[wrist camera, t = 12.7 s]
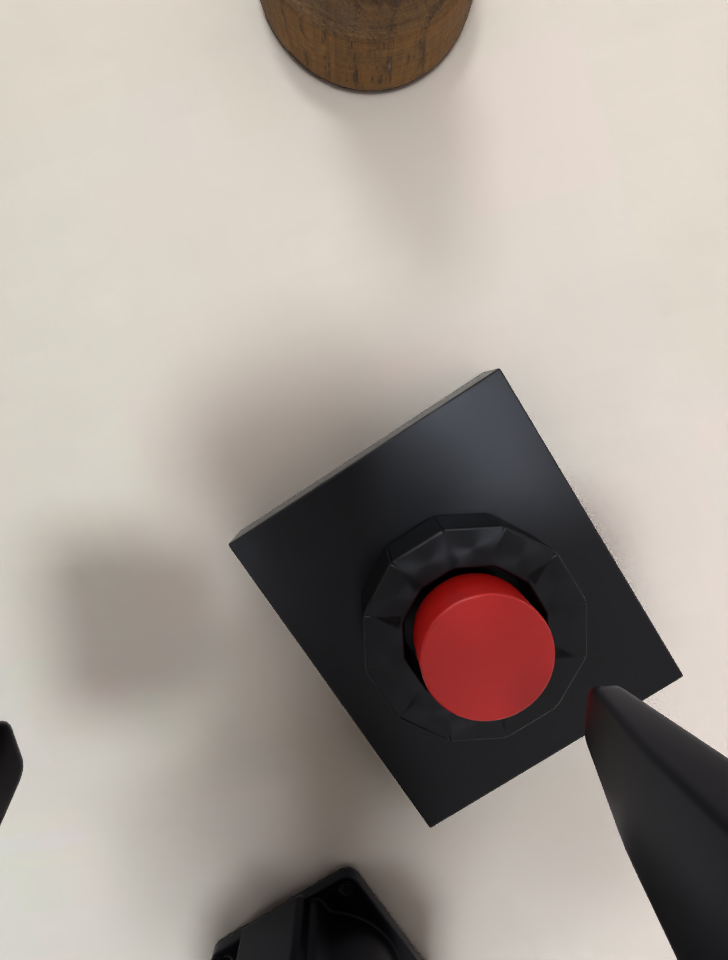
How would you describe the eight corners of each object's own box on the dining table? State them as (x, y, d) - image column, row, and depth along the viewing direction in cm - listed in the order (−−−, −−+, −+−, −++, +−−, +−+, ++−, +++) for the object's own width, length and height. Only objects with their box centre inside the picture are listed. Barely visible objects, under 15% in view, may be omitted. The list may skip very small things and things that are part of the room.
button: (555, 646, 16) (580, 676, 14) (453, 709, 16) (465, 746, 14) (493, 549, 15) (511, 567, 13) (388, 614, 15) (394, 641, 14)
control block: (655, 652, 19) (722, 707, 16) (423, 793, 20) (439, 875, 16) (485, 370, 18) (518, 362, 14) (238, 531, 18) (212, 561, 15)
